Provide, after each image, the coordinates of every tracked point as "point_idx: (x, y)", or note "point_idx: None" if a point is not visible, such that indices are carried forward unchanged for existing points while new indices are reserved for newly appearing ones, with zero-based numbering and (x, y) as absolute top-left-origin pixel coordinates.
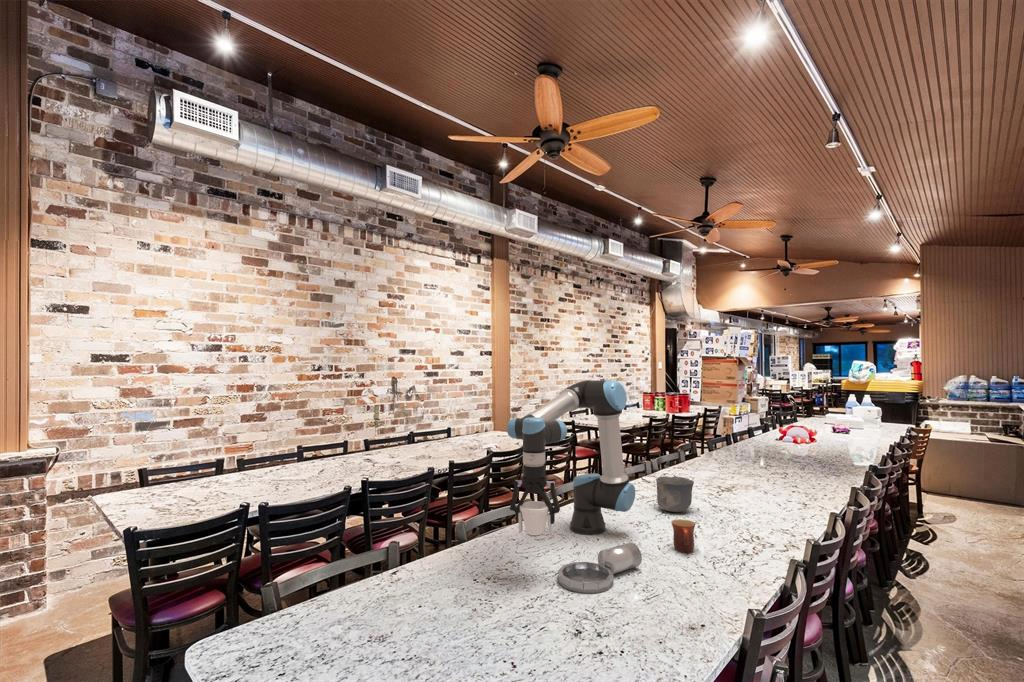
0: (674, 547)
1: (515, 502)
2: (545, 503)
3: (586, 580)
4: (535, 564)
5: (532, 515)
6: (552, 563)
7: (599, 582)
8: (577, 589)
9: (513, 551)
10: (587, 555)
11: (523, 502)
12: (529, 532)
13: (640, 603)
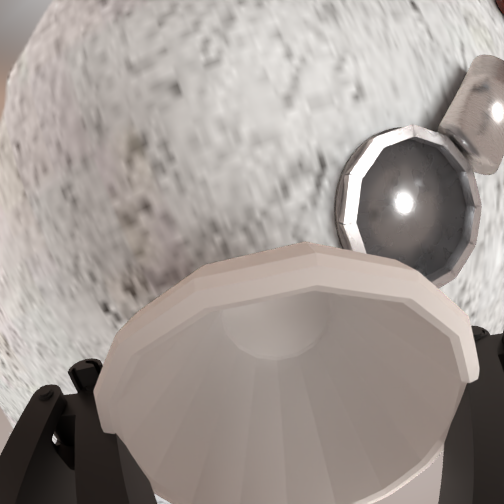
0: (499, 5)
1: (50, 440)
2: (445, 474)
3: (419, 226)
4: (224, 130)
5: (300, 480)
6: (280, 102)
7: (457, 268)
8: None
9: (120, 67)
10: (363, 23)
11: (126, 461)
12: (257, 369)
13: (500, 283)
